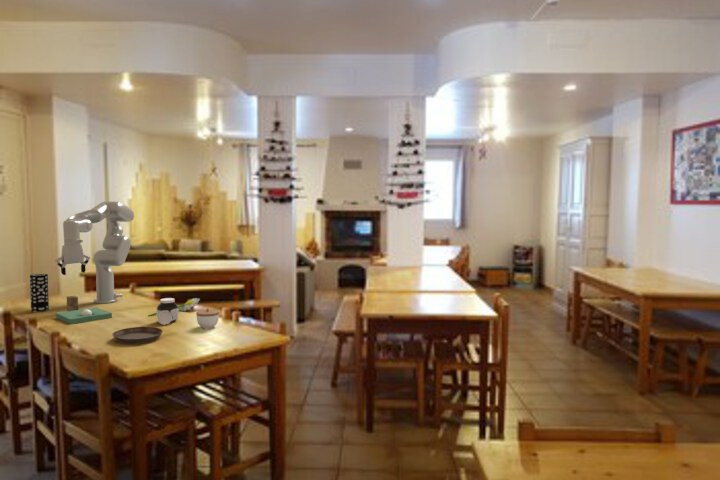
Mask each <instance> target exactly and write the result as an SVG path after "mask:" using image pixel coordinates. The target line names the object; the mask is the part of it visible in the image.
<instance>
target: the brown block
mask: <svg viewBox="0 0 720 480" xmlns="http://www.w3.org/2000/svg"><path fill="white" fill-rule="evenodd" d="M74 310H79V296H76V295H68V296H66V312H67V311H74Z"/></svg>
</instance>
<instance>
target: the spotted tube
mask: <svg viewBox="0 0 720 480" xmlns="http://www.w3.org/2000/svg"><path fill="white" fill-rule="evenodd" d="M29 290H30V311H31V312H33V313H40V312H41V313H42V312H46V311H49V310H50V304H49V303H50V302H49V301H50V300H49V299H50V298H49V274H47V273H35V274H34V273H33V274H30V275H29Z"/></svg>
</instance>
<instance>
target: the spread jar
mask: <svg viewBox="0 0 720 480" xmlns="http://www.w3.org/2000/svg"><path fill="white" fill-rule="evenodd" d="M159 302H160V303H159V304H158V305H157V307H156V313H157V314H156V319H157V322H158V323H159V324H160V325H162V326H167V325H169V324H171V323H170V322H172V323H174V322H176V321H177V320H178V318H179V309H178V305H177V303H175V302H176V301H175V298H174V297H173V298H172V297H165V298H161V299H159ZM166 324H167V325H166Z"/></svg>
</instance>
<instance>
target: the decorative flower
mask: <svg viewBox="0 0 720 480" xmlns="http://www.w3.org/2000/svg"><path fill="white" fill-rule="evenodd" d="M199 301H201V299H200V298H197V297H195V298H194V297H193V298H192V299H189V300H188V301H186V302H185V303H184V304H182V305H179V306H178V305H177V306H178V312H186V311H190V309H191V308H193V306H194V307H195V306H197V304H198V303H199ZM152 316H157V312H154V313H152V314H148V315H147V317H152Z"/></svg>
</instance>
